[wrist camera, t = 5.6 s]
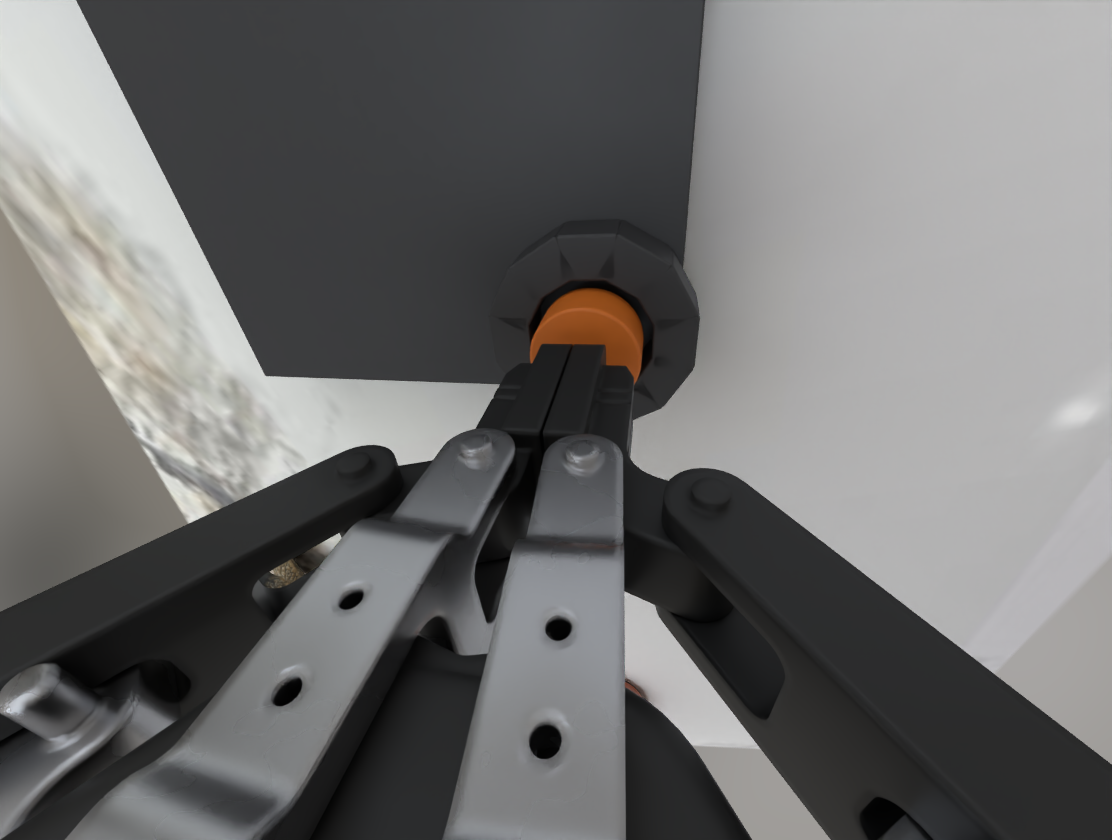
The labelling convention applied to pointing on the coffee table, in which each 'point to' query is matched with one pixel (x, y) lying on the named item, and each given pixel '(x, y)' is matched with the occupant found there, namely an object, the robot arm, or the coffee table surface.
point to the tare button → (594, 326)
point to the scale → (424, 171)
